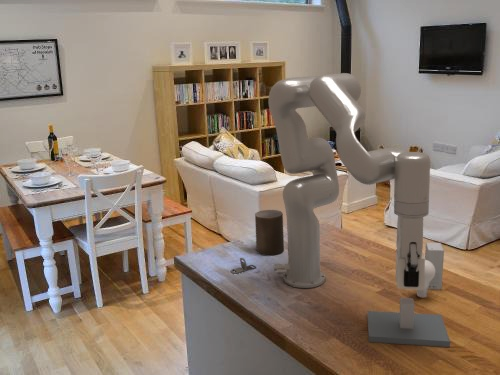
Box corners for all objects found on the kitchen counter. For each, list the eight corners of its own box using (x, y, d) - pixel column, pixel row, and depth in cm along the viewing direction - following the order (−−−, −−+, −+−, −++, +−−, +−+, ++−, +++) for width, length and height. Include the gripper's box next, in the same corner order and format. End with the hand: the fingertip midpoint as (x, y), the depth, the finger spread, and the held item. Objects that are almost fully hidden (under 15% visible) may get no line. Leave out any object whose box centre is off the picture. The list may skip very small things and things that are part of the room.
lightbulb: (431, 304, 132) (433, 266, 129) (407, 299, 136) (408, 262, 133) (436, 294, 137) (438, 257, 135) (413, 290, 141) (414, 254, 138)
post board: (368, 341, 117) (369, 311, 115) (367, 316, 128) (367, 287, 126) (449, 347, 113) (451, 315, 111) (440, 320, 125) (442, 291, 123)
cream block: (397, 288, 115) (398, 258, 113) (395, 278, 120) (396, 249, 119) (423, 289, 114) (424, 258, 112) (420, 279, 119) (421, 249, 117)
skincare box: (442, 290, 140) (444, 250, 137) (426, 289, 141) (428, 250, 138) (438, 280, 146) (440, 242, 143) (423, 279, 147) (425, 242, 144)
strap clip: (234, 276, 156) (233, 263, 155) (229, 272, 158) (228, 260, 157) (257, 268, 160) (256, 256, 159) (252, 265, 163) (251, 253, 162)
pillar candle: (284, 255, 169) (283, 213, 166) (256, 256, 170) (254, 214, 166) (283, 245, 179) (282, 205, 175) (256, 246, 179) (254, 206, 175)
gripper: (391, 196, 121) (390, 265, 126) (397, 218, 105) (396, 296, 109) (423, 196, 120) (421, 266, 124) (434, 218, 104) (431, 297, 108)
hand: (409, 279), depth 117 cm, fingers closed on cream block, 5 cm apart
